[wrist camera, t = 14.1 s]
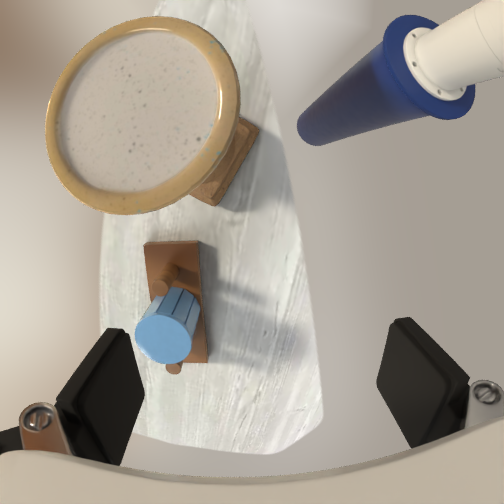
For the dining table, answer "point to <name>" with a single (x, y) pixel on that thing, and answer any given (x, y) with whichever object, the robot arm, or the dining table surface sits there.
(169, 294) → the cup
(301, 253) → the dining table surface
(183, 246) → the rack
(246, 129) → the candle holder
